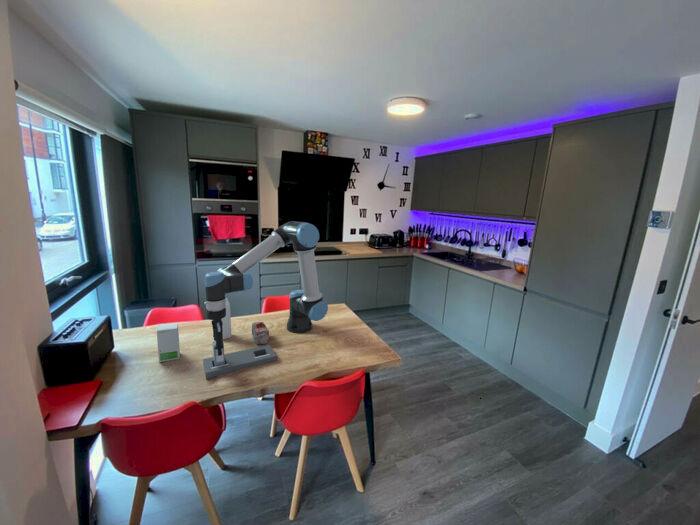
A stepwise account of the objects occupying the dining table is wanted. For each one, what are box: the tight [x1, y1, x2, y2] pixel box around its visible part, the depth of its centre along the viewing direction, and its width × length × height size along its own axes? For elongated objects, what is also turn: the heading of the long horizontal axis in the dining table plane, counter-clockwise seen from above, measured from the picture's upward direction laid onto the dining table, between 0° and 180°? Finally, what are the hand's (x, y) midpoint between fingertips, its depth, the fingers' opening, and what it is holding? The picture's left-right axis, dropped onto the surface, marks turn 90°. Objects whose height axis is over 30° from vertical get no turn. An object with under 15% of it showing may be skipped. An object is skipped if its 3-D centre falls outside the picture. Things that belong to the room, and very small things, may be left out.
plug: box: [212, 340, 225, 367], centre depth 126 cm, size 4×4×13 cm
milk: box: [222, 297, 232, 340], centre depth 154 cm, size 6×6×22 cm
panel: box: [202, 344, 278, 380], centre depth 132 cm, size 30×12×3 cm, turn 121°
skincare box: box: [156, 322, 181, 363], centre depth 133 cm, size 8×7×16 cm
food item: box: [251, 321, 270, 346], centre depth 153 cm, size 14×8×10 cm, turn 32°
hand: (219, 357), depth 126 cm, fingers open, 6 cm apart
